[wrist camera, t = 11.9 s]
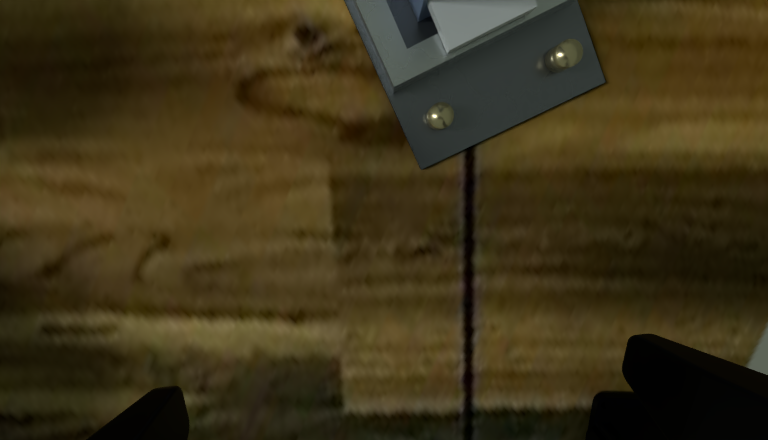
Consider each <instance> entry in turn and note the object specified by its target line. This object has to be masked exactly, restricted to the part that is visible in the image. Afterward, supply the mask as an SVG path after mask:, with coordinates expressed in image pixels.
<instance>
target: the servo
mask: <svg viewBox="0 0 768 440" xmlns="http://www.w3.org/2000/svg"><path fill="white" fill-rule="evenodd" d="M409 2H410V5H411V7H412V9H413V12H414V14H415V17H416V19H417V21H418V22H420V21H421V20H423V19H425V18H427V17H429V16H432V19H433V21H434V23H435V26H436V28H437V31H438V33H439V36H440V38H441V40H442V43H443V45H444V48H445V50H446V52H447V54H448V53H450V52H452V51H454V50H456V49H458V48H460V47H462V46H464V45H466V44H468V43H470V42H472V41H474V40H476V39H478V38H480V37H482V36H484V35H486V34H488V33H490V32H492V31H494V30H496V29H498V28H500V27H502V26H504V25H506V24H508V23H510V22H512V21H514V20H516V19H518V18H520V17H522V16H524V15H526V14H528V13H530V12H532V11H533V10H534V9H535V8H536V7H537V3H536V0H409Z"/></svg>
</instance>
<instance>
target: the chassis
mask: <svg viewBox="0 0 768 440" xmlns="http://www.w3.org/2000/svg"><path fill="white" fill-rule="evenodd" d="M344 1H345V3H346V6H347V8H348V10H349V12H350V14H351V17H352V19H353V21H354V23H355V25H356V28H357V30H358V32H359V34H360V36H361V39H362V41H363V43H364V45H365V48H366V50H367V52H368V54H369V56H370V59H371V61H372V63H373V65H374V67H375V70H376V72H377V74H378V76H379V78H380V81H381V83H382V85H383V87H384V89H385V92H386V94H387V96H388V98H389V101H390V103H391V105H392V107H393V109H394V112H395V114H396V116H397V118H398V120H399V123H400V125H401V127H402V129H403V131H404V134H405V136H406V138H407V140H408V142H409V145H410V147H411V149H412V151H413V153H414V156H415V158H416V160H417V162H418V165H419V167H420V169H421V170H422V169H424V168H426V167H428V166H430V165H432V164H434V163H437V162H439V161H441V160H443V159H445V158H447V157H449V156H451V155H453V154H455V153H458V152H460V151H462V150H464V149H466V148H468V147H470V146H472V145H474V144H476V143H479V142H481V141H483V140H485V139H487V138H489V137H491V136H493V135H495V134H497V133H500V132H502V131H504V130H506V129H508V128H510V127H512V126H514V125H516V124H518V123H521V122H523V121H525V120H527V119H529V118H531V117H533V116H535V115H537V114H540V113H542V112H544V111H546V110H548V109H550V108H552V107H554V106H556V105H558V104H561V103H563V102H565V101H567V100H569V99H571V98H573V97H575V96H577V95H579V94H582V93H584V92H586V91H588V90H590V89H592V88H594V87H596V86H598V85H600V84H603V83H605V79H604V76H603V73H602V70H601V67H600V65H599V62H598V59H597V56H596V53H595V50H594V47H593V44H592V41H591V38H590V35H589V33H588V30H587V27H586V24H585V21H584V18H583V15H582V12H581V9H580V6H579V4H578V1H577V0H536V3H537V7H536V8H535V9H534V10H533V11H532V12H530V13H528V14H526V15H524V16H522V17H520V18H518V19H516V20H514V21H512V22H510V23H508V24H506V25H504V26H502V27H500V28H498V29H496V30H494V31H492V32H490V33H488V34H486V35H484V36H482V37H480V38H478V39H476V40H474V41H472V42H470V43H468V44H466V45H464V46H462V47H460V48H458V49H456V50H454V51H452V52H450V53H448V54H447V52H446V50H445V48H444V45H443V43H442V40H441V38H440V36H439V33H438V31H437V28H436V26H435V23H434V21H433V19H432V16H429V17H427V18H425V19H423V20H421V21H420V22H418V21H417V19H416V17H415V14H414V12H413V9H412V7H411V5H410V2H409V0H344Z"/></svg>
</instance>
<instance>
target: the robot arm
mask: <svg viewBox="0 0 768 440" xmlns="http://www.w3.org/2000/svg"><path fill="white" fill-rule="evenodd" d="M622 372H623V375H624V378H625V380H626V381H627V383H628V384H629V385H630V387H631V388H632V390H633V391H634V393H635V394H615V393H599V394H597V395H596V396H595V397H594V399H593V403H592V409H591V415H590V420H589V426H588V431H587V433H586V439H585V440H768V375H766V374H763V373H760V372H757V371H755V370H752V369H749V368H746V367H743V366H741V365H738V364H735V363H732V362H729V361H727V360H724V359H721V358H718V357H715V356H713V355H710V354H707V353H704V352H701V351H699V350H696V349H693V348H690V347H688V346H685V345H682V344H679V343H676V342H674V341H671V340H668V339H665V338H662V337H660V336H657V335H654V334H641V335H634V336H631V337H630V338H629V340H628V342H627V347H626V351H625V355H624V360H623V364H622ZM603 402H605V403H604V404H602V403H603ZM188 434H189V417H188V413H187V409H186V405H185V400H184V396H183V392H182V390H181V388H180V387H178V386H168V387H159V388H155V389H153V390H151V391H150V392H148V393H147V394H146V395H144V396H143V397H142V398H140V399H139V400H138V401H136V402H135V403H134V404H132V405H131V406H130V407H128V408H127V409H126V410H125V411H123V412H122V413H121V414H119V415H118V416H117V417H115V418H114V419H113V420H111V421H110V422H109V423H107V424H106V425H105V426H103V427H102V428H101V429H100V430H98V431H97V432H96V433H94V434H93V435H92V436H90V437H89V438H88V439H86V440H187V438H188Z"/></svg>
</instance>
